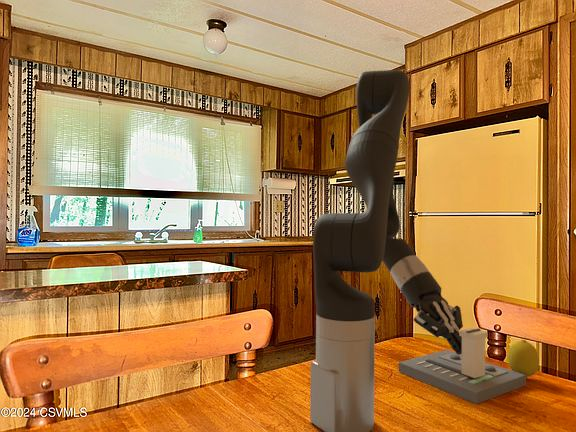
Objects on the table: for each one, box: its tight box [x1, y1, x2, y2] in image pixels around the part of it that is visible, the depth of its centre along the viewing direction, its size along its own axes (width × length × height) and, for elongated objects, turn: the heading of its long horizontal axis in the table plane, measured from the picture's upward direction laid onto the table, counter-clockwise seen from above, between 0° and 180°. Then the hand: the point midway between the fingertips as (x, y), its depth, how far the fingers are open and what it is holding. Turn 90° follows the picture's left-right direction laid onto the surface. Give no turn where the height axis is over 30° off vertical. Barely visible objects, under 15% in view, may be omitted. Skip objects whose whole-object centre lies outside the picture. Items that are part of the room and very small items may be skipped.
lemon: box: [507, 339, 540, 379], centre depth 86 cm, size 6×6×8 cm
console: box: [398, 349, 527, 405], centre depth 86 cm, size 16×18×3 cm
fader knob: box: [459, 327, 488, 378], centre depth 81 cm, size 4×3×8 cm
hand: (463, 351), depth 83 cm, fingers closed
